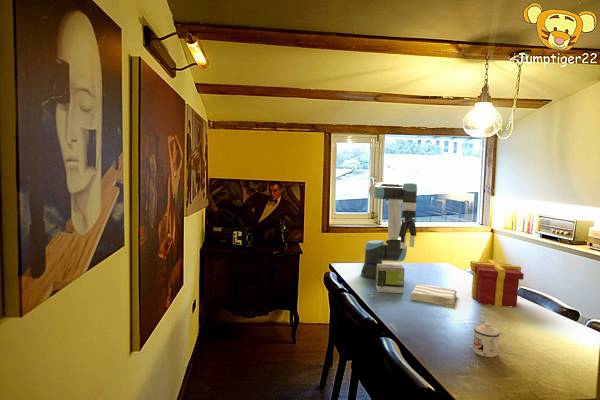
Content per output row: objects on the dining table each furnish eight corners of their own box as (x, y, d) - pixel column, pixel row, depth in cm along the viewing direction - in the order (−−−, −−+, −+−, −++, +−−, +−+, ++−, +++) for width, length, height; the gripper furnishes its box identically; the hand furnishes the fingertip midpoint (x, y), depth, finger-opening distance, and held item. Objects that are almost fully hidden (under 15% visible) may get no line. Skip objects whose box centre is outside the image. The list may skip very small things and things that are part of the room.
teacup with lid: (468, 347, 162) (470, 319, 161) (489, 347, 163) (491, 319, 162) (484, 361, 150) (487, 331, 149) (507, 361, 151) (510, 331, 150)
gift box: (464, 291, 240) (467, 257, 239) (510, 295, 235) (513, 261, 234) (474, 304, 216) (477, 267, 214) (524, 310, 211) (528, 272, 209)
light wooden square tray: (416, 290, 238) (416, 283, 238) (456, 296, 229) (456, 289, 229) (410, 299, 220) (411, 292, 220) (453, 306, 211) (454, 299, 211)
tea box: (400, 288, 239) (402, 264, 238) (403, 294, 229) (405, 268, 228) (375, 287, 241) (376, 262, 239) (376, 292, 231) (378, 266, 229)
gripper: (407, 210, 216) (405, 249, 216) (423, 211, 236) (421, 247, 236) (394, 209, 221) (392, 248, 220) (410, 210, 241) (409, 245, 240)
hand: (407, 247), depth 228 cm, fingers open, 13 cm apart
